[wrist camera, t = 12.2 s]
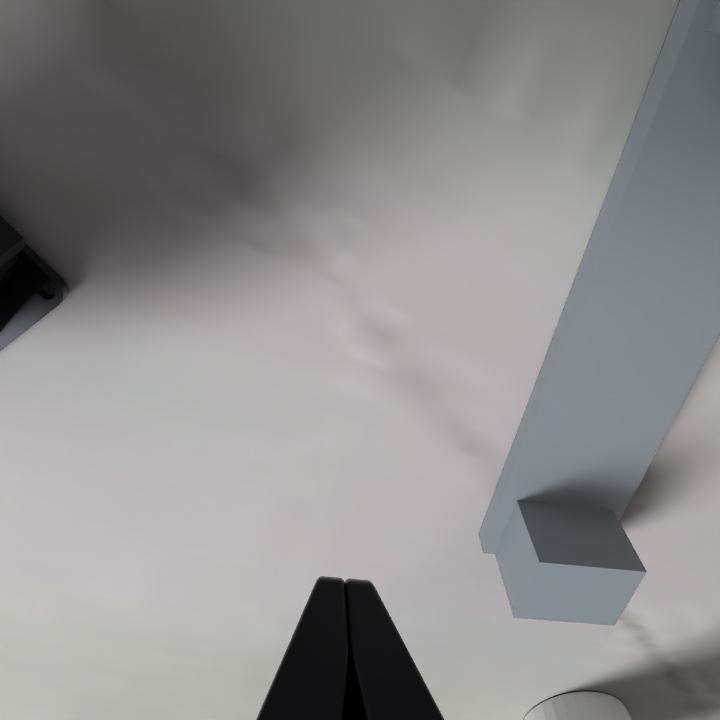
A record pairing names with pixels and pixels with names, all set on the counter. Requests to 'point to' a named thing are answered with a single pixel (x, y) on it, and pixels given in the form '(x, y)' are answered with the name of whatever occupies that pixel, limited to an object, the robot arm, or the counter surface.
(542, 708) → the coffee cup
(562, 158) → the counter surface
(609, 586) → the gate frame
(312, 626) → the robot arm
